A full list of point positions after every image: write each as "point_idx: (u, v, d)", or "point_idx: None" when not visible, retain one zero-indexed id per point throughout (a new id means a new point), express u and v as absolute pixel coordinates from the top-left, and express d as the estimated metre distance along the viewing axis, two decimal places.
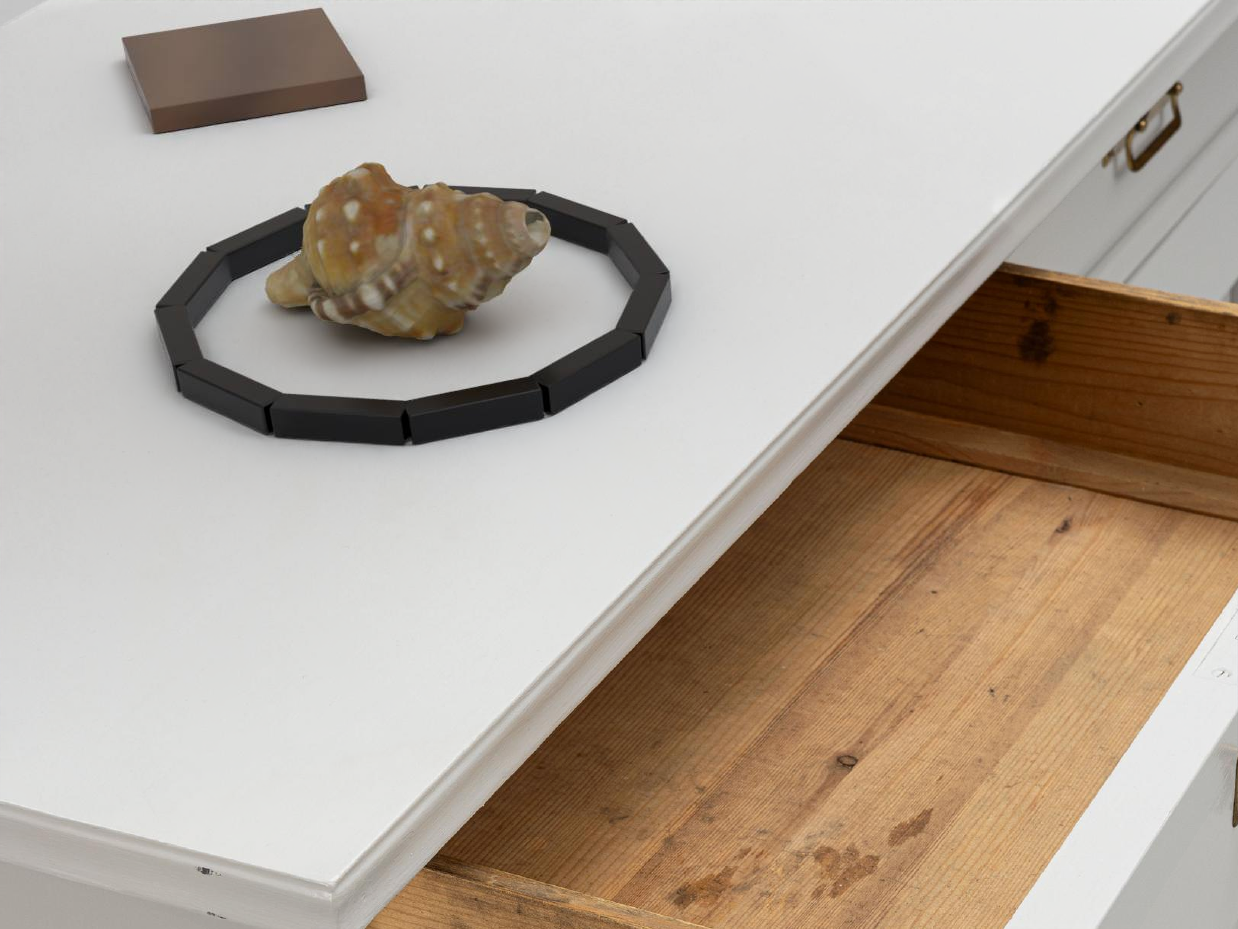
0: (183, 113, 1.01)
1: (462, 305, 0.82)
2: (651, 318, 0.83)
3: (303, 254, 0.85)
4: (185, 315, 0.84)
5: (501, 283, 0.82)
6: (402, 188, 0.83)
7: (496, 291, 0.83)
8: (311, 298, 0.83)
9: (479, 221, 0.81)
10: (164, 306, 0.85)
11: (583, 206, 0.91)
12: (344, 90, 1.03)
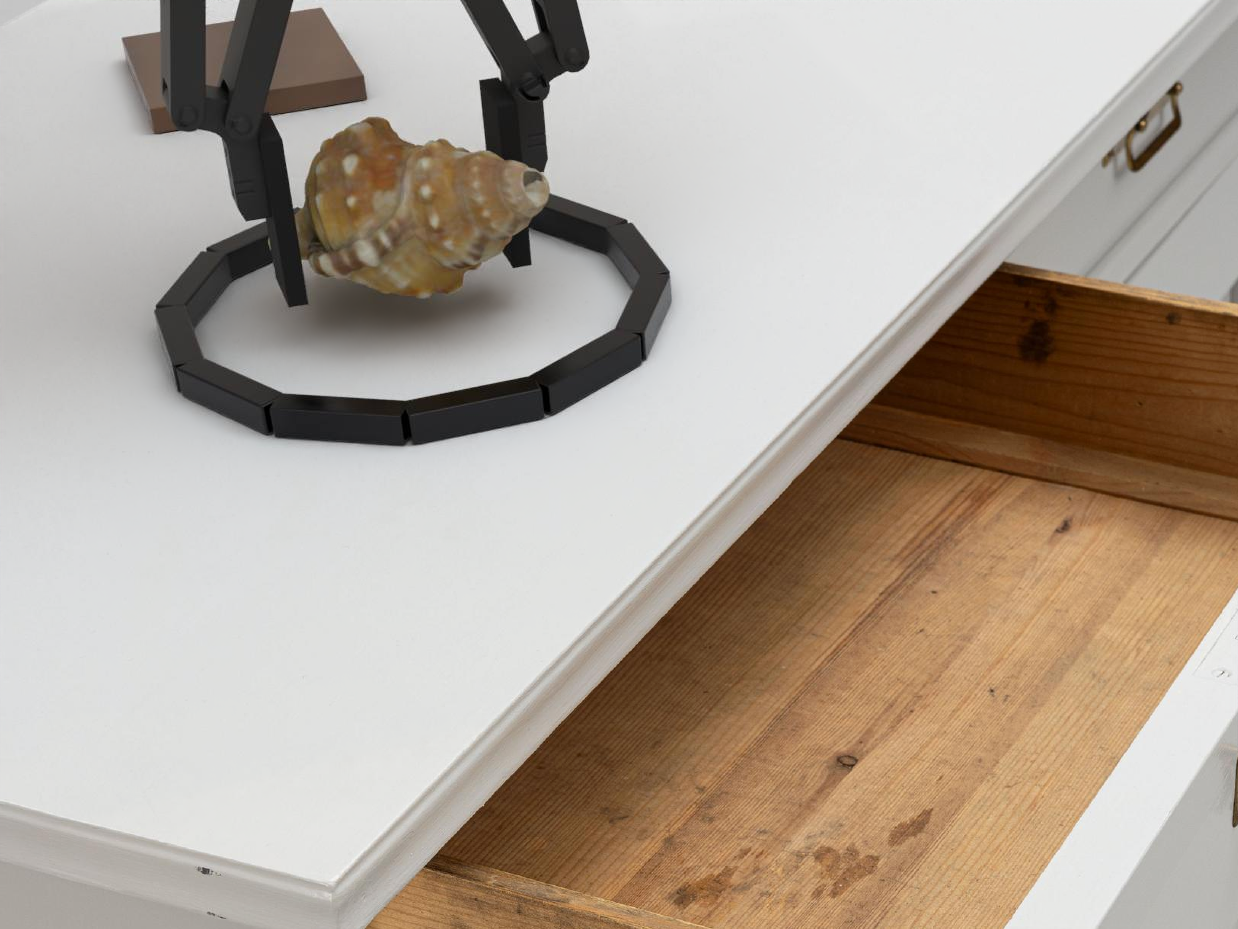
0: None
1: (459, 264, 0.81)
2: (651, 318, 0.83)
3: (305, 208, 0.84)
4: (185, 315, 0.84)
5: (499, 243, 0.81)
6: (404, 144, 0.82)
7: (494, 251, 0.82)
8: (309, 252, 0.83)
9: (476, 180, 0.80)
10: (164, 306, 0.85)
11: (583, 206, 0.91)
12: (344, 90, 1.03)
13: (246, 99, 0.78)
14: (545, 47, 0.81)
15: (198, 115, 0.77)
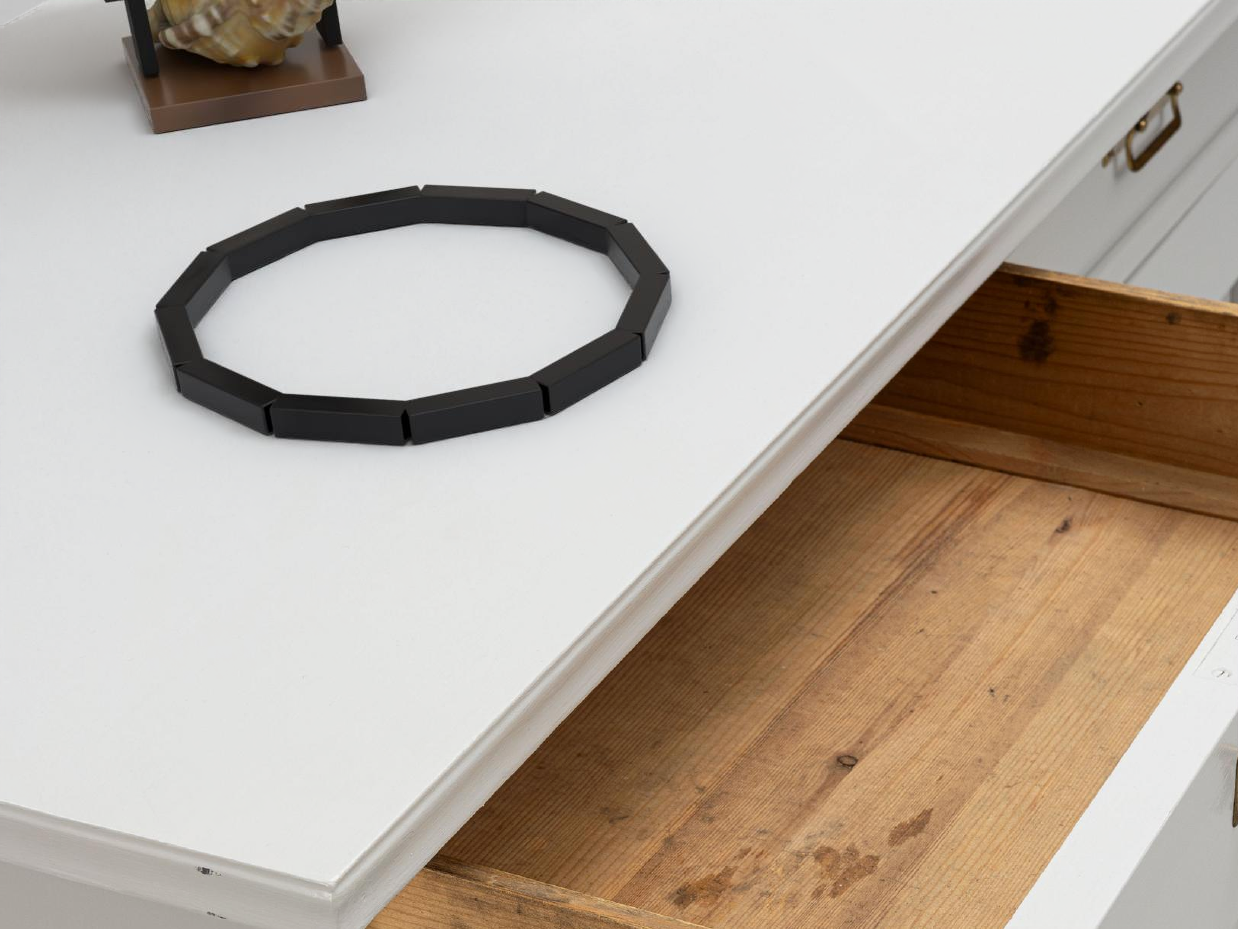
0: (183, 113, 1.01)
1: (276, 36, 1.02)
2: (651, 318, 0.83)
3: None
4: (185, 315, 0.84)
5: (308, 18, 1.02)
6: None
7: (305, 26, 1.02)
8: (159, 29, 1.03)
9: None
10: (164, 306, 0.85)
11: (583, 206, 0.91)
12: (344, 90, 1.03)
13: None
14: None
15: None
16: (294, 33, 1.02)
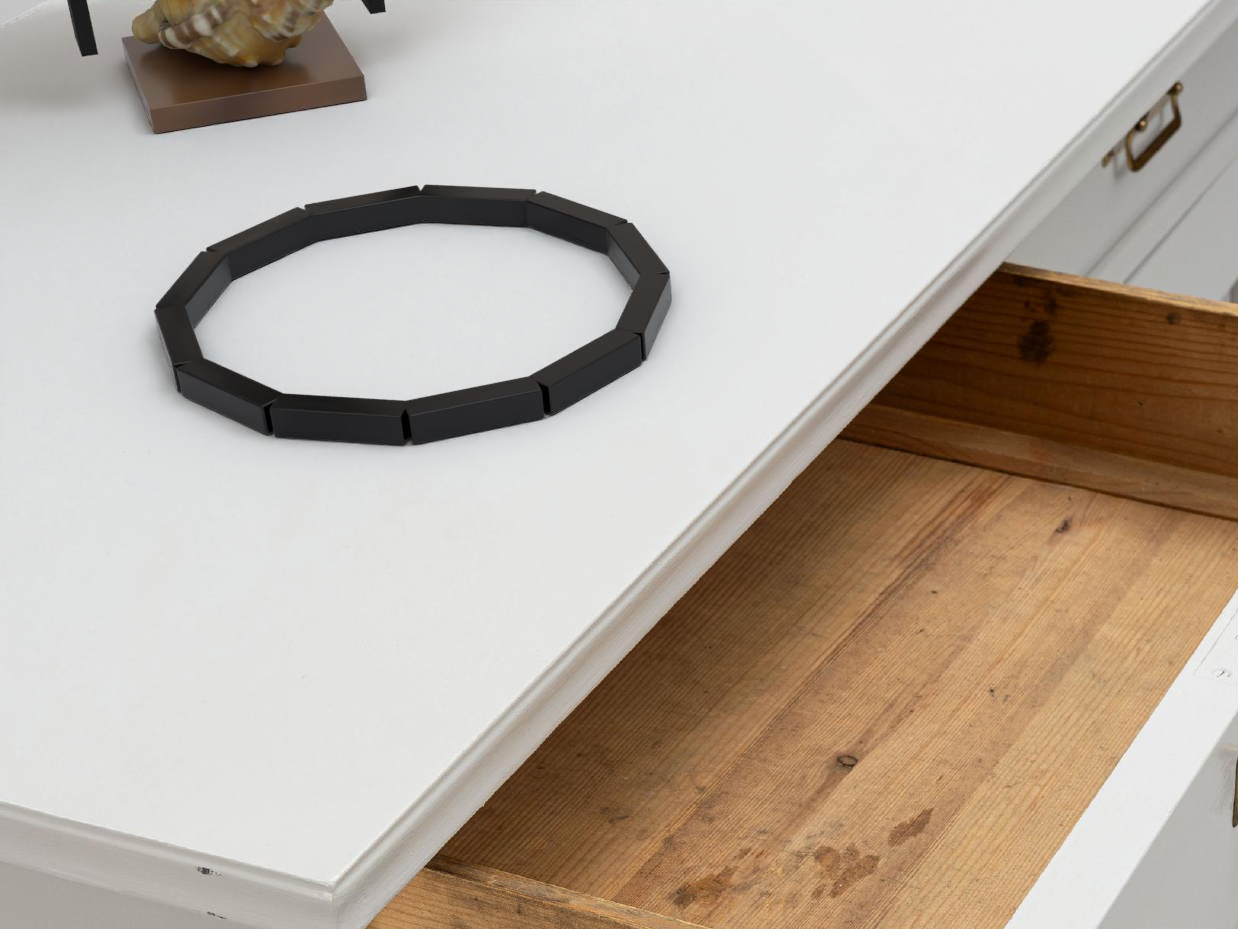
0: (183, 113, 1.01)
1: (276, 36, 1.02)
2: (651, 318, 0.83)
3: None
4: (185, 315, 0.84)
5: (308, 18, 1.02)
6: None
7: (305, 26, 1.02)
8: (159, 29, 1.03)
9: None
10: (164, 306, 0.85)
11: (583, 206, 0.91)
12: (344, 90, 1.03)
13: None
14: None
15: None
16: (294, 33, 1.02)
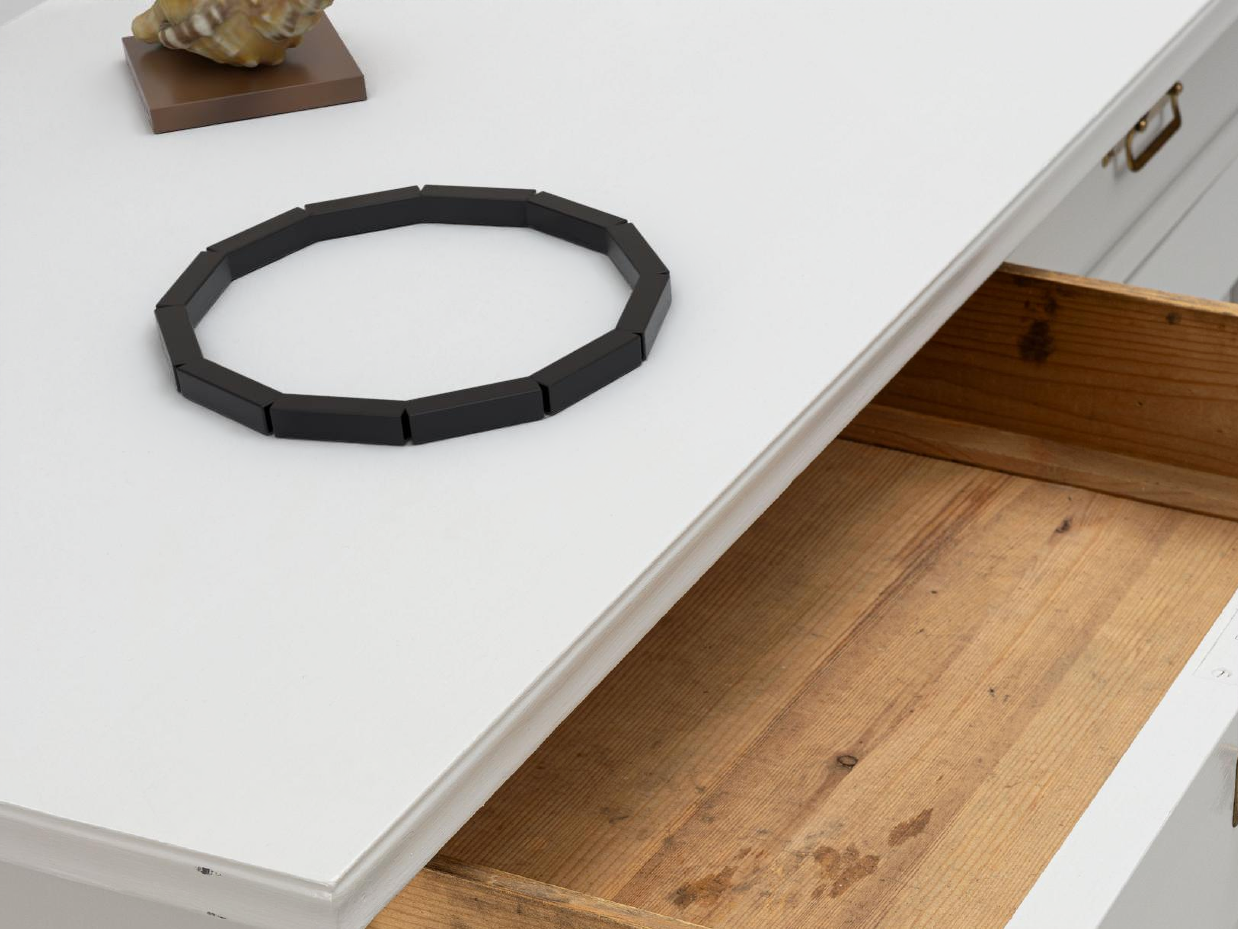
0: (183, 113, 1.01)
1: (276, 36, 1.02)
2: (651, 318, 0.83)
3: None
4: (185, 315, 0.84)
5: (308, 18, 1.02)
6: None
7: (305, 26, 1.02)
8: (159, 29, 1.03)
9: None
10: (164, 306, 0.85)
11: (583, 206, 0.91)
12: (344, 90, 1.03)
13: None
14: None
15: None
16: (294, 33, 1.02)
